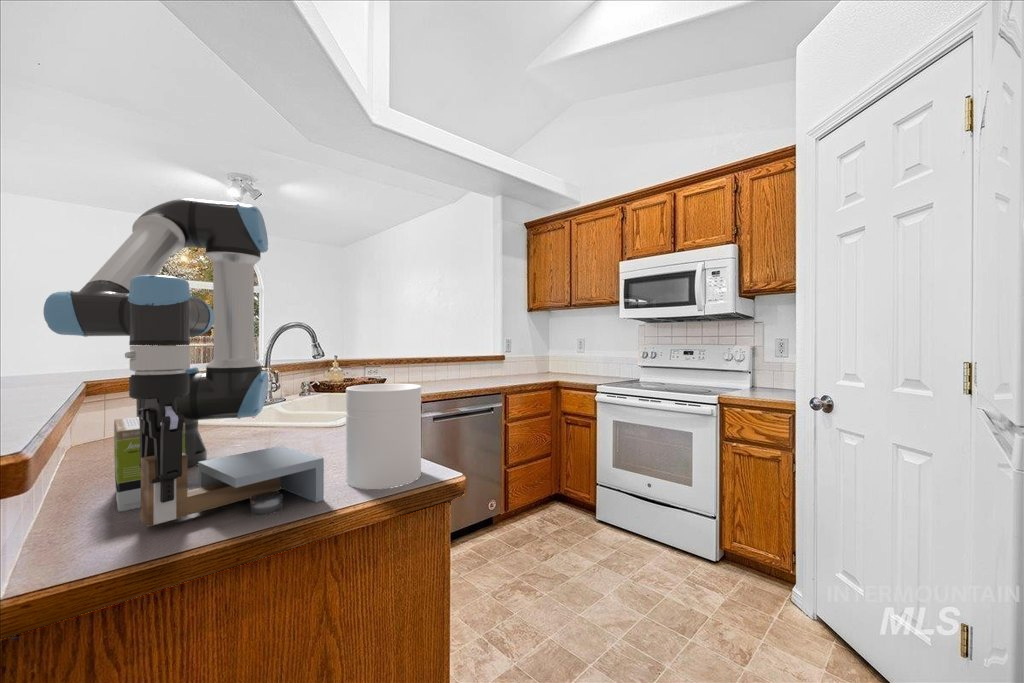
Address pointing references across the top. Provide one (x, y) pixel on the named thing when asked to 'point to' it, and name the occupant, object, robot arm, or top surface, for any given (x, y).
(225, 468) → the low shelf
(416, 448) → the canister
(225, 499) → the wooden l-shaped block
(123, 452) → the tea box
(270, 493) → the steel puck
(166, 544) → the top surface
